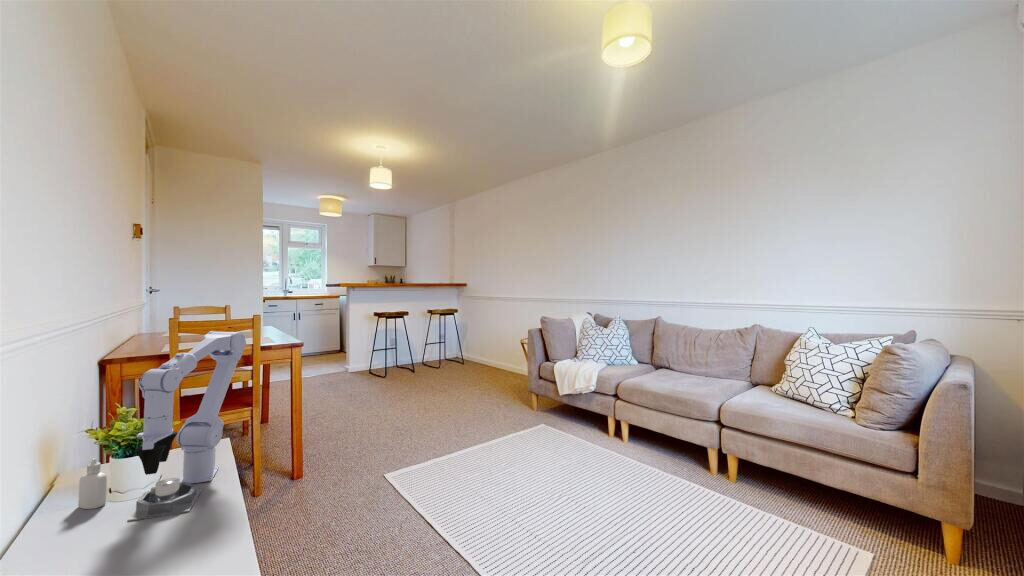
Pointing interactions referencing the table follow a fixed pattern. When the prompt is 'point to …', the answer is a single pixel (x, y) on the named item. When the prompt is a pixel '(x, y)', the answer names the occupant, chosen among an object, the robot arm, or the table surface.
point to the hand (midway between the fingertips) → (156, 467)
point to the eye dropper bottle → (92, 487)
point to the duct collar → (166, 503)
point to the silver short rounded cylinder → (166, 490)
